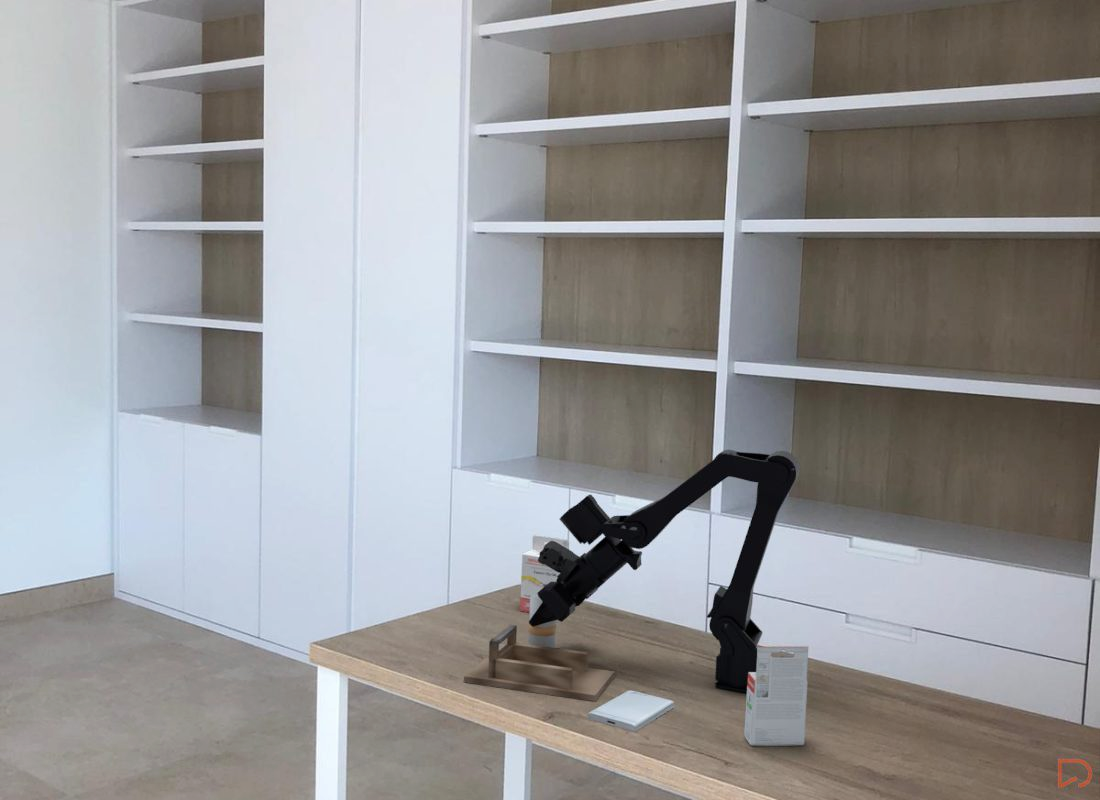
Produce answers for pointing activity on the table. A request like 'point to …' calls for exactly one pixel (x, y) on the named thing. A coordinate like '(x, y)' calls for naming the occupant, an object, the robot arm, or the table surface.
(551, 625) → the white capped grey cylinder
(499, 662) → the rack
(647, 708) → the hard drive
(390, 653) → the table surface
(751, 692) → the ink box
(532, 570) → the ink cartridge box
